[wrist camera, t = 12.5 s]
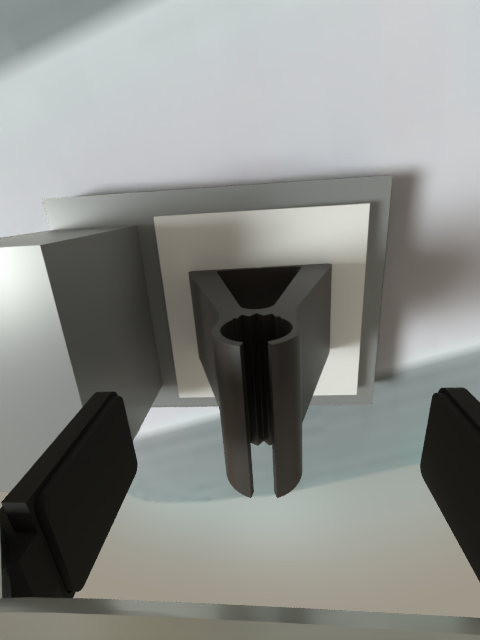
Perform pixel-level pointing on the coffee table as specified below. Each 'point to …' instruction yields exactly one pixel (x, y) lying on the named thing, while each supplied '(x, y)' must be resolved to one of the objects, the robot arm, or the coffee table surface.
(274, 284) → the phone stand
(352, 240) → the grey bracket with tile
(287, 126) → the coffee table surface
